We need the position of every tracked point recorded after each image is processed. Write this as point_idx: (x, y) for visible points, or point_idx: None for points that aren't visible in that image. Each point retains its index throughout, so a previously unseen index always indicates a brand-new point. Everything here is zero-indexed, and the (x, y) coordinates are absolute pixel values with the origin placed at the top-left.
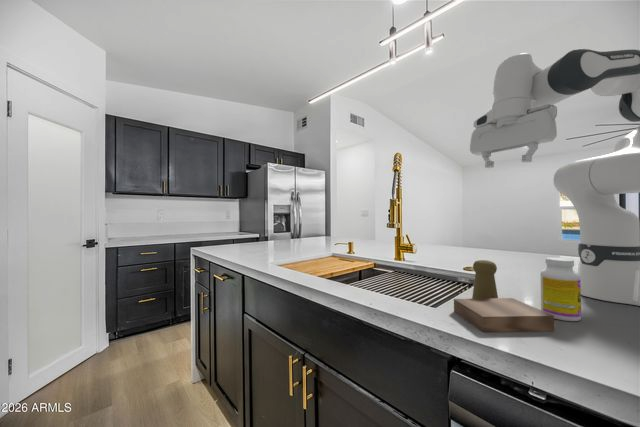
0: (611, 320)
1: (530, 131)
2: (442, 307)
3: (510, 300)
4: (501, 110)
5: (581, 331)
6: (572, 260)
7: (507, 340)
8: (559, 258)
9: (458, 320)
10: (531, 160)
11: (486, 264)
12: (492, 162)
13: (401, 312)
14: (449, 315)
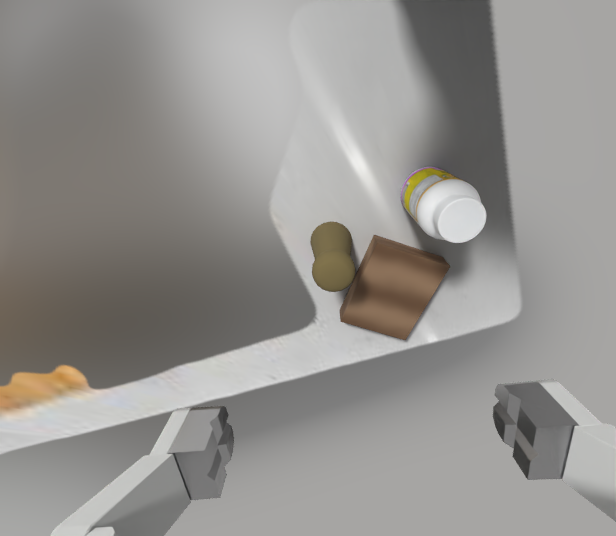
0: (476, 130)
1: None
2: (319, 311)
3: (383, 257)
4: None
5: None
6: (485, 216)
7: (425, 323)
8: (458, 211)
9: None
10: (559, 386)
11: (347, 286)
12: (213, 456)
13: (315, 363)
14: (347, 324)
